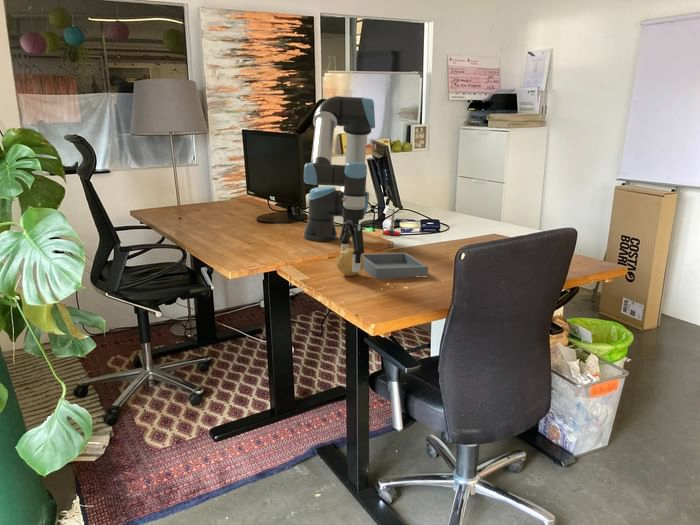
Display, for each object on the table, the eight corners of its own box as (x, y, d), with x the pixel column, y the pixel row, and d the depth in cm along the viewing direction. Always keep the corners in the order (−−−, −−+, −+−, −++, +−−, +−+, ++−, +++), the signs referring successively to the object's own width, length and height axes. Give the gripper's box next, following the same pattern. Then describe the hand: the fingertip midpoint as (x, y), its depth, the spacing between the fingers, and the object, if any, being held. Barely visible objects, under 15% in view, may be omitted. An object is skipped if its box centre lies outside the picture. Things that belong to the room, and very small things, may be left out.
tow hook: (384, 232, 274) (382, 235, 266) (386, 206, 272) (384, 208, 263) (400, 233, 273) (399, 236, 264) (403, 208, 271) (402, 210, 262)
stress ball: (365, 278, 199) (359, 255, 204) (368, 263, 190) (361, 240, 195) (339, 282, 197) (332, 260, 202) (340, 268, 188) (333, 244, 194)
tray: (357, 263, 213) (358, 254, 212) (405, 262, 219) (405, 252, 218) (376, 279, 195) (376, 268, 194) (427, 277, 201) (428, 266, 200)
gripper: (333, 201, 201) (330, 257, 207) (354, 214, 178) (351, 276, 184) (352, 201, 203) (349, 257, 209) (376, 214, 181) (372, 275, 186)
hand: (350, 266), depth 196 cm, fingers open, 13 cm apart
